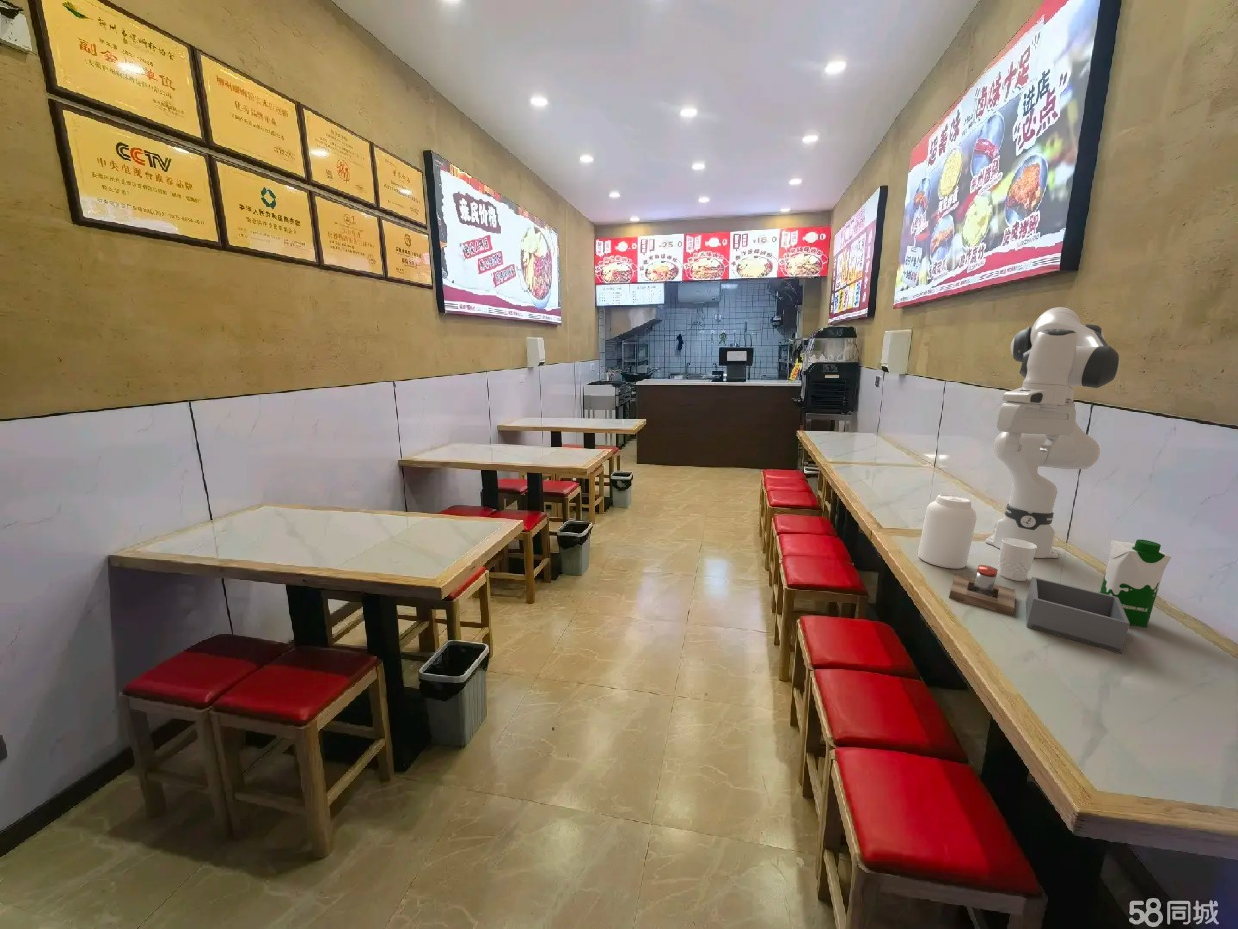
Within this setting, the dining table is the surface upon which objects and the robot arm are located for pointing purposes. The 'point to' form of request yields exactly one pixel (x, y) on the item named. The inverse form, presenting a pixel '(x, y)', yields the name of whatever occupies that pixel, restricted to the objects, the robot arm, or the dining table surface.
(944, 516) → the can
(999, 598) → the socket block
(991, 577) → the red and grey cylinder
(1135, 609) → the milk carton
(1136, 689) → the dining table surface
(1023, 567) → the white cup
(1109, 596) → the bin
